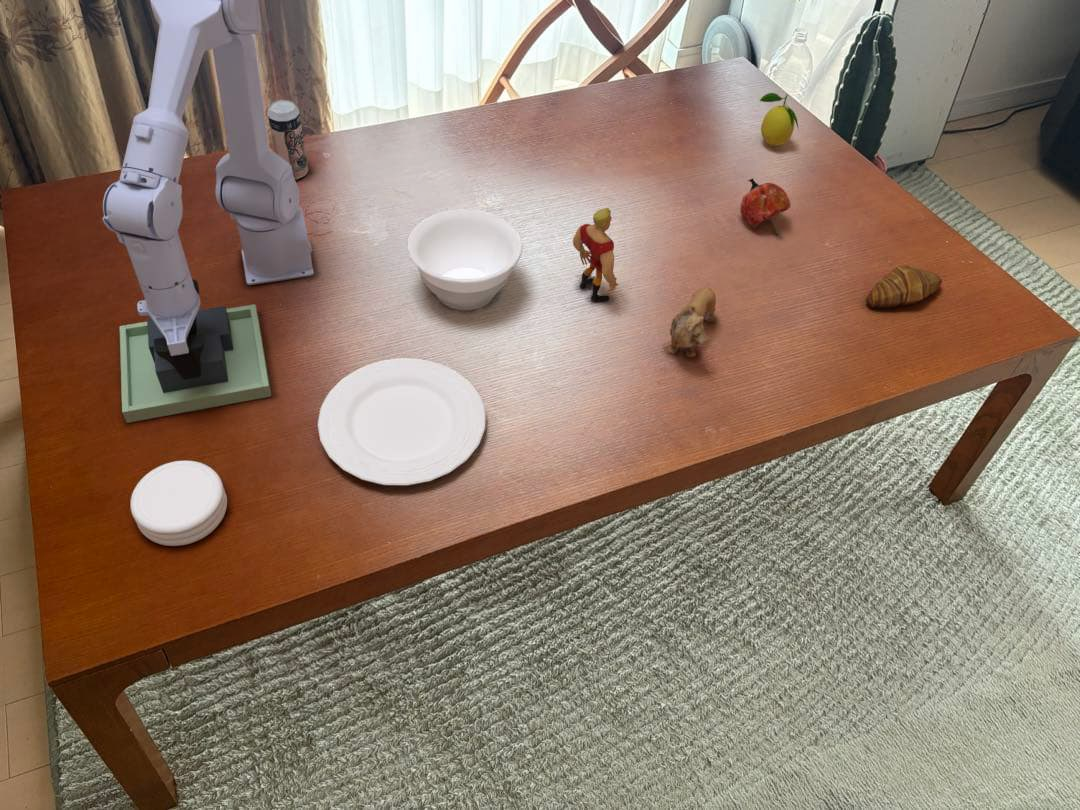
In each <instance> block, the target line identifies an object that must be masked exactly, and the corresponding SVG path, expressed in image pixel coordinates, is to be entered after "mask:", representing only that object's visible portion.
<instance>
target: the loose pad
mask: <svg viewBox="0 0 1080 810" xmlns="http://www.w3.org/2000/svg"><path fill="white" fill-rule="evenodd" d="M204 339H205V345H204V349H203V351H202V353H201V358H200V361H201V377H198V378H192V379H186V380H184V379H183V378H182V377H181V376H180V374H179V373H178V372H177V370H176V369H175V368H174V367H173V365H172V364H171V363H170V362H168V361H167V360H165V359H163V358H161V357H159V356H158V355H157V353H156V351H155V348H154V357H155V372H156V375H157V377H158V380H159V383H160V385H161V388H162V391H163V393H167V392H172V391H178V390H183V389H189V388H195V387H200V386H206V385H211V384H217V383H223V382H228V375H227V367H226V359H225V353H224V350H223V346H222V343H221V339H220V336H219V333H217V334H211V335H205V336H204Z"/></svg>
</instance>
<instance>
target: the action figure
mask: <svg viewBox="0 0 1080 810" xmlns="http://www.w3.org/2000/svg"><path fill="white" fill-rule="evenodd" d="M612 219H613V218H612V216H611V210H610V208H609V207H605V208H600V209H599V210H596V211H595V212H594V213H593V215H592V220H593V223H594V224H590V223H584V224H582V225H581V226H579V227H578V228H577V230H576V232H575V234H574V236H573V238H572V245H573V247H574V249H575V250H577V252H579V258H580V262H581V263H582V265H583V266H585V265H586V266H587V265H588V264H589V267H586V269H584V270H583V272H582V274H581V282H580V284H579V289H580V290H585V289H586V288H587V286H588V285H591V289H592V291H591V292H592V295H591V296H590V300H591V301H592V302H595V303H597V302H598V303H605V302H608V301H609V300H610V298H611V297H610V295H605V294H604V295H600V294H598V293H599V291H600V289H601V287H602V286H601V284H602V281H603V278H604V280H605V281H606V283H607V284H608V287H609V289H607V290H606V291H607V292H609V293H612V292H613V291H614V290H615V289H616V288H617V286H619V283H617V279H618V277H616V276H615V273H614V268H615V254H614V249H615V243H614V241H613V239H611V237H610V236H609V235H608V234H607V233H606V231H608V230H609V229H610V226H611V222H612ZM585 246H586V248H587V249H588V250H587V249H585ZM594 271H595V275H596V276H595V278H593V277H591V276H592V274H593V273H594Z"/></svg>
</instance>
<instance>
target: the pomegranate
mask: <svg viewBox="0 0 1080 810" xmlns="http://www.w3.org/2000/svg"><path fill="white" fill-rule="evenodd" d="M746 181H747V182H750V184H751V187H750V189H749V190H748V191H749V192H747V193H745V194H744V195H743V196H742V199H741V202H740V209H739V210H740V216H741V217H742V219H743V220H744V222H746V223H747V224H748V225H750V226H752V227H753V228H754V227H757V226H758V225H760V224H761V223H763V222H764V221H767V220H769V222H770V224H771V226H772V227H773V229H774V231H775V234H776V235H777V237H779V236H780V235H779V233H778V230H777V228H776V225H775V224H774V220H773V218H774V217H776V216H777V215H778V214H779V213H783V212H786V211H788V210H789V209H790V208H791V200H790V198H789V196H788V194H787V192H786V191H785V189H784V188H782V187H780V186H779V185H777V184H776V183H773V182H764V183H761V184H758V183H757V182H756V181H755V180H754V178H750V179H747V180H746Z"/></svg>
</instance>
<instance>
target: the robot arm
mask: <svg viewBox="0 0 1080 810" xmlns="http://www.w3.org/2000/svg"><path fill="white" fill-rule="evenodd" d="M149 1H150V6H151V10H152V12H153V13H152V14H153V17H154V19H155V21H156V22H157V24H158V27H159V28H158V35H157V40H156V41H157V42H156V49H155V54H154V55H155V56H154V63H153V70H152V77H151V85H150V90H149V98H148V105H147V108H146V109H145V110H143V111H141V112H139V113H137V114H136V115H135V116H134V117H133V121H132V124H131V129H130V133H129V136H128V137H129V138H128V141H127V144H126V150H125V154H124V157H123V162H122V166H121V170H120V175H119V180H117V181H115V182H113V183H111V184H110V185H109V186H108V187H107V189H106V191H105V193H104V196H103V199H102V212H103V217H102V222H103V224H104V226H105V227H106V229H108V230H109V231H111V232H113V233H115V235H116V237H117V239H118V242H119V243H120V244H123V245H124V246H125V248H126V251H127V253H128V256H129V259H130V262H131V264H132V267H133V270H134V273H135V275H136V278H137V281H138V284H139V287H140V289H141V292H142V295H143V298H144V299H143V300H139V301H138V302H137V304H136V306H137V307H136V308H137V313H138V315H139V316H141V317H144V316H146V317H147V316H148V317H149V318H151V319H152V320H153V322H154V323H155V324H156V326H157V327H158V329H159V330H160V332H161V333H162V334H163V336H164V337H163V338H157V339H154V348H155V351H156V353H157V355H158V356H159V357H161V358H163V359H165V360H167V361H168V362H170V363H171V364H172V365H173V367H174V368H175V369H176V370H177V372H178V373H179V374H180V376H181V377H182V378H183V379H184V380H186V379H192V378H198V377H201V361H200V358H201V353H202V351H203V349H204V345H205V339H204V334H200V335H196V333H197V324H196V314H197V312H198V310H200V307H201V299H200V295H199V294H200V285H199V283H198V280H196V279H194V278H193V277H192V273H191V271H190V267H189V264H188V261H187V257H186V255H185V251H184V248H183V245H182V241H181V237H180V234H179V231H178V230H179V228H180V224H181V222H182V219H183V213H184V208H183V200H182V199H183V198H182V194H183V186H182V185H181V184H179V181H180V176H181V172H182V169H183V163H184V159H185V155H186V151H187V146H188V143H189V138H190V133H189V131H188V128H187V127H186V125H185V123H184V121H183V116H184V114H185V110H186V107H187V104H188V101H189V98H190V95H191V92H192V90H193V87H194V84H195V80H196V77H197V74H198V71H199V68H200V65H201V63H202V59H203V57H204V54H205V53H206V52H208V51H210V50H212V54H213V60H214V61H213V62H214V66H215V73H216V79H217V80H216V81H217V86H218V92H219V96H220V104H221V110H222V116H223V122H224V129H225V134H226V135H225V136H226V141H227V147H228V152H227V153H226V154H224V155H223V156H222V157H221V158H220V160H219V161H218V163H217V164H216V166H215V173H216V174H215V175H216V176H215V177H216V179H215V181H216V182H215V188H214V189H215V190H214V195H215V199H216V202H217V204H218V207H219V209H221V210H222V211H223V212H226V213H228V215H229V218H230V220H232V221H233V222H234V221H235V223H236V227H237V231H238V235H239V239H240V240H239V241H240V244H241V247H242V249H241V251H240V252H241V257H242V263H243V270H244V277H245V283H246V285H248V286H254V285H261V284H267V283H274V282H281V281H286V280H287V281H288V280H293V279H300V278H306V277H311V276H314V274H315V272H314V267H313V262H312V253H313V250H312V243H311V240H309V237H308V231H307V226H306V220H305V216H304V212H303V208H302V206H299V203H300V190H299V185H298V184H297V182H296V179H294V176H293V172H292V166H291V165H290V164H289V163H288V162H287V161H285V160H284V159H283V158H281V157H280V156H279V155H277V154H276V153H275V151H274V150H272V149H271V147H270V141H269V133H268V125H267V118H266V117H267V116H266V111H265V110H266V109H265V103H264V96H263V95H264V94H263V88H262V87H263V86H262V80H261V79H262V78H261V72H260V71H261V70H260V65H259V64H260V63H259V56H258V55H259V54H258V49H257V41H256V35H259V34H261V33H262V20H261V11H260V3H259V0H149ZM191 335H194V336H191Z"/></svg>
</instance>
